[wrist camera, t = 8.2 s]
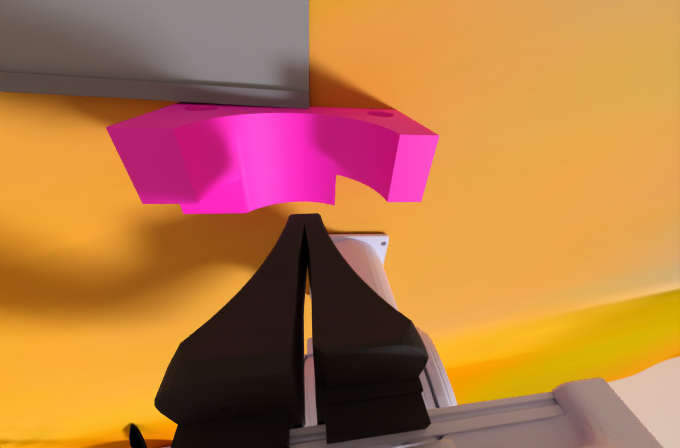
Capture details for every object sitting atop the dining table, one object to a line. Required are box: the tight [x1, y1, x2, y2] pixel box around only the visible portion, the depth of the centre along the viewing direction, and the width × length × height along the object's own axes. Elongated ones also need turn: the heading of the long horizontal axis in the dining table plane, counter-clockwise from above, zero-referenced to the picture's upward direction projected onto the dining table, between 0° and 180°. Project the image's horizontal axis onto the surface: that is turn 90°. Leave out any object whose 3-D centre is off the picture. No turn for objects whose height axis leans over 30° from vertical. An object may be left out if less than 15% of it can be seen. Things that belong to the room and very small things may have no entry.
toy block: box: [106, 102, 439, 214], centre depth 16 cm, size 15×6×8 cm, turn 87°
